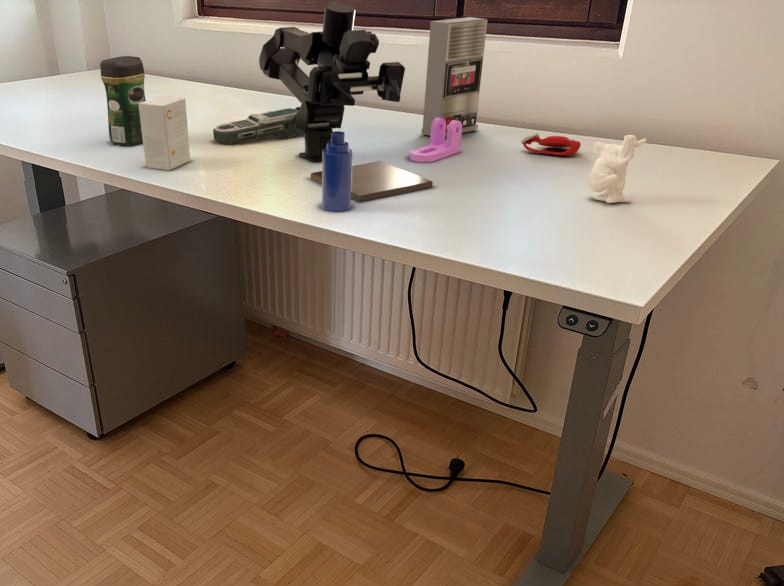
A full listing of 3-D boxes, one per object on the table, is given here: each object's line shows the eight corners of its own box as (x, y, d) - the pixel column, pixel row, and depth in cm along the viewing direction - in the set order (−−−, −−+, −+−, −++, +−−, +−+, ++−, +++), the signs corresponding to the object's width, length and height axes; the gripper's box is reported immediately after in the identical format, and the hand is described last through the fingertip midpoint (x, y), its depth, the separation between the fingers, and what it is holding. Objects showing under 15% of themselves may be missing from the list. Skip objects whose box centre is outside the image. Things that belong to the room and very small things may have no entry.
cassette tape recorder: (440, 139, 175) (450, 23, 162) (421, 134, 179) (429, 21, 166) (478, 130, 182) (491, 19, 170) (459, 126, 186) (470, 17, 174)
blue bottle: (316, 205, 133) (316, 131, 127) (340, 200, 136) (342, 127, 129) (332, 213, 130) (333, 137, 123) (356, 208, 132) (359, 133, 125)
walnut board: (310, 179, 147) (310, 173, 147) (379, 166, 155) (380, 160, 154) (359, 202, 135) (359, 195, 134) (432, 187, 142) (432, 181, 142)
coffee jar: (134, 135, 180) (125, 52, 170) (157, 139, 175) (149, 55, 166) (103, 143, 173) (91, 57, 163) (127, 148, 169) (116, 61, 159)
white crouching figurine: (638, 200, 135) (653, 133, 129) (623, 210, 131) (639, 140, 125) (592, 191, 140) (605, 126, 134) (577, 200, 135) (590, 133, 129)
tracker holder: (556, 139, 170) (591, 137, 161) (553, 159, 171) (588, 158, 162) (517, 132, 164) (551, 130, 155) (514, 153, 165) (548, 151, 156)
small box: (166, 157, 161) (160, 95, 155) (191, 161, 159) (186, 97, 153) (144, 167, 155) (137, 102, 148) (170, 170, 153) (164, 105, 146)
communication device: (204, 137, 178) (201, 99, 173) (293, 125, 187) (292, 89, 183) (223, 148, 168) (220, 108, 164) (316, 135, 178) (316, 97, 173)
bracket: (438, 147, 168) (441, 116, 165) (459, 151, 165) (462, 119, 161) (404, 159, 160) (406, 126, 156) (426, 163, 157) (429, 130, 153)
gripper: (300, 26, 135) (335, 58, 124) (390, 22, 141) (430, 53, 131) (294, 86, 142) (327, 121, 132) (380, 80, 149) (418, 113, 138)
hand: (376, 101), depth 133 cm, fingers open, 9 cm apart
